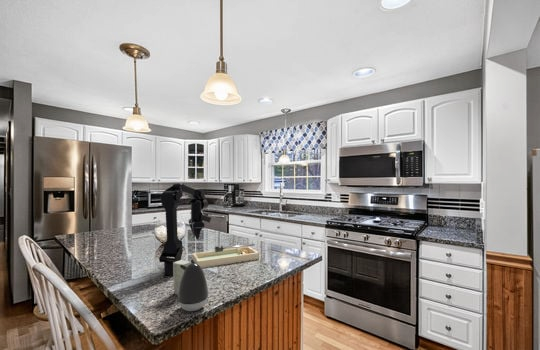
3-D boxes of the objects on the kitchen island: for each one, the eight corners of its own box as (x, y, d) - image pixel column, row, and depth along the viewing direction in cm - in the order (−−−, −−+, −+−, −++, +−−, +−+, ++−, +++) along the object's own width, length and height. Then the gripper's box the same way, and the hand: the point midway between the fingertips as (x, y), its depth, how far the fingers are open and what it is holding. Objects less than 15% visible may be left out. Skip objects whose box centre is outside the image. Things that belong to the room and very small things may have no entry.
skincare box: (192, 292, 99) (192, 261, 100) (183, 297, 96) (183, 264, 96) (182, 289, 103) (181, 259, 103) (172, 293, 99) (172, 262, 99)
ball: (243, 257, 146) (249, 256, 147) (242, 251, 146) (248, 250, 147) (241, 256, 149) (247, 254, 151) (240, 250, 149) (246, 248, 150)
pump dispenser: (189, 299, 94) (189, 258, 94) (213, 302, 91) (213, 260, 91) (170, 312, 84) (170, 266, 84) (197, 317, 81) (197, 269, 81)
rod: (255, 253, 149) (255, 242, 150) (215, 258, 139) (215, 247, 140) (253, 251, 152) (253, 241, 152) (214, 257, 142) (214, 246, 142)
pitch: (259, 259, 142) (259, 252, 142) (197, 268, 128) (197, 261, 128) (249, 252, 157) (248, 246, 157) (192, 259, 142) (192, 253, 143)
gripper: (213, 211, 140) (213, 239, 139) (207, 208, 157) (207, 233, 156) (193, 212, 135) (193, 241, 135) (188, 209, 152) (188, 235, 152)
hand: (196, 237), depth 144 cm, fingers open, 9 cm apart
